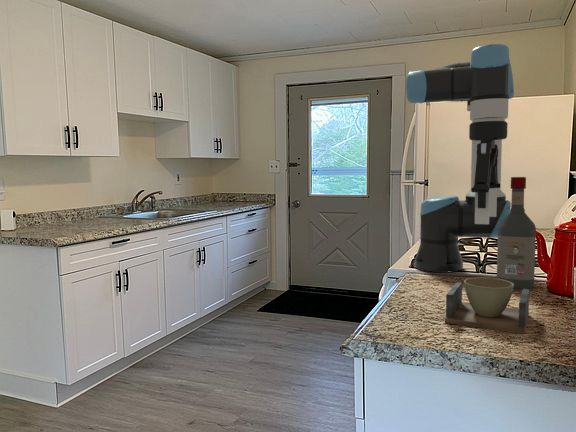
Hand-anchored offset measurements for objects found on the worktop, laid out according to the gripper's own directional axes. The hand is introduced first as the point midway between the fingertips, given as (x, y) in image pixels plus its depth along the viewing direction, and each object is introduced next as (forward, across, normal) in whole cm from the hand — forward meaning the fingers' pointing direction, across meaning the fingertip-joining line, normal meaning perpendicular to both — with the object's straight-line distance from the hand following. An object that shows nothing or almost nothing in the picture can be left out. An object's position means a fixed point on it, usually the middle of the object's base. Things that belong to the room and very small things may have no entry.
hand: (486, 220), depth 104 cm
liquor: (+22, -32, +4) cm, 39 cm away
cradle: (+22, +1, +1) cm, 22 cm away
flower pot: (+21, +1, +1) cm, 21 cm away
